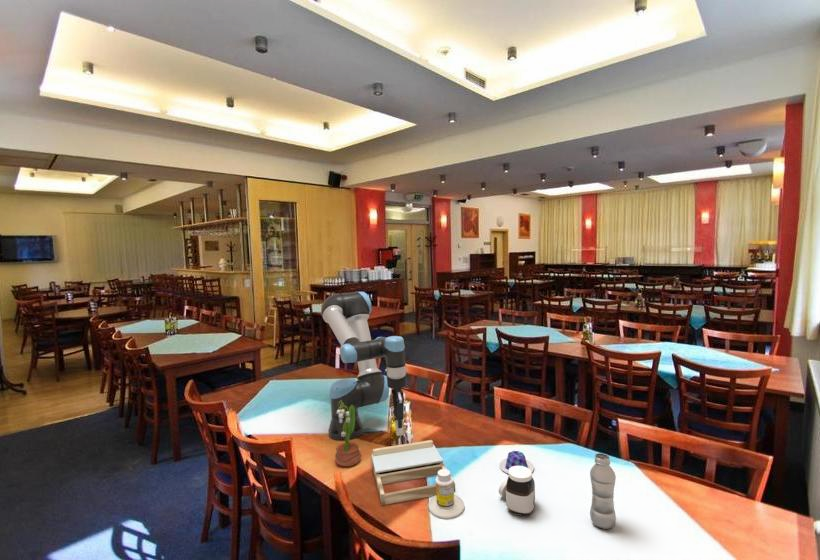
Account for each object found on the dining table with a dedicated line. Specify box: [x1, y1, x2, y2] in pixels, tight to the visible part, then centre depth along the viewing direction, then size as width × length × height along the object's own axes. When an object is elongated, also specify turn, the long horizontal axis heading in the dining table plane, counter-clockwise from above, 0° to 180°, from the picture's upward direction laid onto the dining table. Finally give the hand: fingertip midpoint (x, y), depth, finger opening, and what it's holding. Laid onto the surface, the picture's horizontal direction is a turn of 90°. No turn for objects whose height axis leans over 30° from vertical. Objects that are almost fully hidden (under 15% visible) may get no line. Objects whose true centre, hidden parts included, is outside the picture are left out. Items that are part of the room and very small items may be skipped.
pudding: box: [499, 450, 535, 475], centre depth 145 cm, size 12×12×5 cm
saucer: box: [428, 494, 465, 520], centre depth 124 cm, size 11×11×1 cm
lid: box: [370, 439, 444, 474], centre depth 148 cm, size 12×24×3 cm, turn 103°
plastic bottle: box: [589, 452, 617, 530], centre depth 113 cm, size 6×7×20 cm
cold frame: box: [370, 456, 456, 506], centre depth 142 cm, size 26×24×3 cm
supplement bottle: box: [435, 468, 455, 509], centre depth 124 cm, size 6×6×10 cm
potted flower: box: [334, 400, 362, 467], centre depth 153 cm, size 12×10×25 cm
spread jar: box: [498, 466, 536, 516], centre depth 124 cm, size 12×11×12 cm
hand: (399, 434), depth 159 cm, fingers closed
